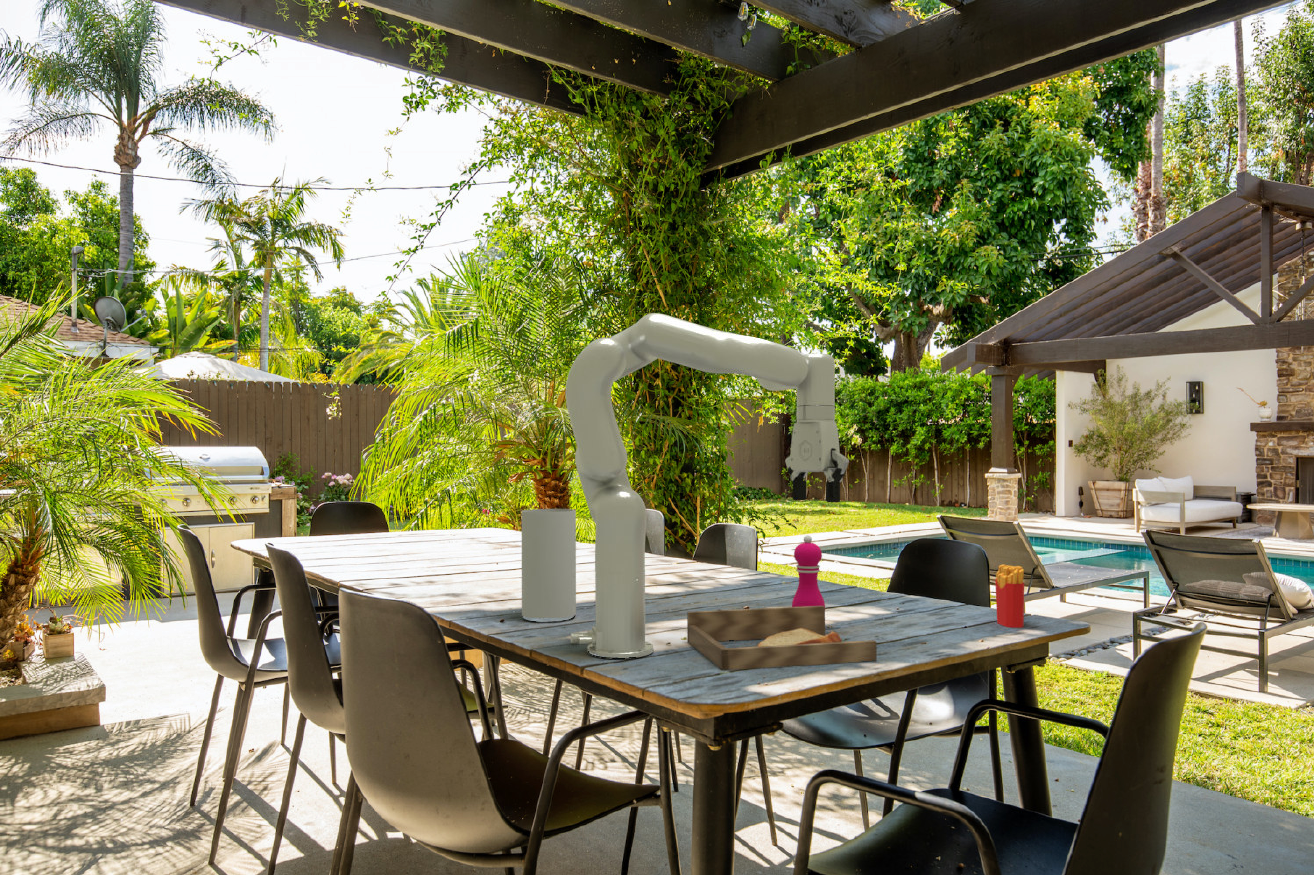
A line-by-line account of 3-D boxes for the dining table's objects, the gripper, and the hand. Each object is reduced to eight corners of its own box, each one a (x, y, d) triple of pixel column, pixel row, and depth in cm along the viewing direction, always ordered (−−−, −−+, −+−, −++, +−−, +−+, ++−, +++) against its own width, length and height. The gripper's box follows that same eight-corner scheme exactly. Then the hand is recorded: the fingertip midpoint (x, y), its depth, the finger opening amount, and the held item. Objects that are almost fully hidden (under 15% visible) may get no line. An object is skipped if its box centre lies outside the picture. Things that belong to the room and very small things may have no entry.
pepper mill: (825, 631, 186) (824, 537, 186) (791, 630, 187) (790, 536, 188) (825, 624, 193) (824, 534, 193) (792, 623, 194) (791, 533, 195)
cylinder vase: (556, 611, 212) (556, 508, 212) (586, 618, 202) (586, 510, 203) (511, 617, 204) (511, 510, 204) (540, 625, 194) (540, 512, 195)
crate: (722, 670, 152) (721, 635, 152) (687, 641, 176) (687, 611, 176) (876, 660, 159) (876, 627, 159) (822, 634, 182) (822, 605, 182)
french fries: (992, 621, 196) (991, 563, 196) (1011, 620, 196) (1010, 562, 197) (1010, 629, 187) (1009, 568, 187) (1030, 628, 187) (1029, 568, 187)
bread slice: (760, 663, 159) (759, 642, 159) (747, 642, 177) (747, 623, 177) (857, 662, 160) (857, 641, 160) (835, 641, 177) (835, 622, 178)
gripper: (773, 416, 180) (773, 499, 180) (832, 413, 166) (832, 503, 165) (800, 417, 184) (801, 499, 184) (860, 414, 170) (860, 502, 169)
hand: (815, 501), depth 175 cm, fingers open, 9 cm apart
